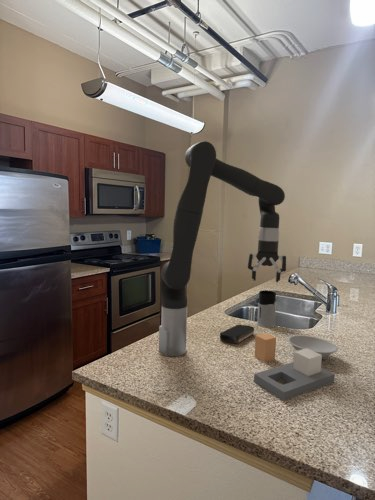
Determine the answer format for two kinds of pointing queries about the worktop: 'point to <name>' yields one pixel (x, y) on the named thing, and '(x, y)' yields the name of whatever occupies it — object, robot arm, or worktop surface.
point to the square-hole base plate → (295, 375)
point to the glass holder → (265, 308)
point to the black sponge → (237, 333)
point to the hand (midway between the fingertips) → (265, 281)
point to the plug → (265, 347)
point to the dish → (312, 344)
